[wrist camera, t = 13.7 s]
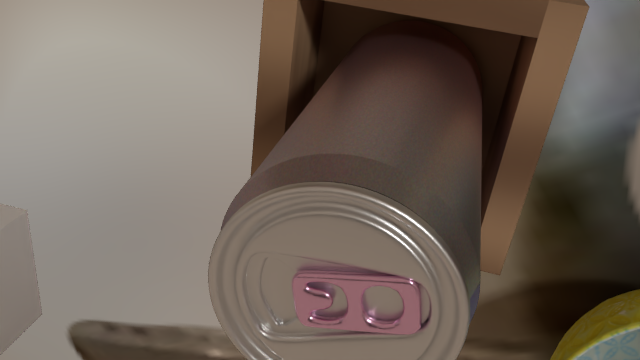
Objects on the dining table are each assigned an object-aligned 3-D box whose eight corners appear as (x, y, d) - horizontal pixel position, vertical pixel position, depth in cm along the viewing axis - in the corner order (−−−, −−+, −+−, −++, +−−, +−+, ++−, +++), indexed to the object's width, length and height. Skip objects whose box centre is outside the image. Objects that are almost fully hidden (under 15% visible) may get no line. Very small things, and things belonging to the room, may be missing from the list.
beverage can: (481, 152, 26) (478, 428, 13) (347, 152, 27) (224, 398, 14) (483, 12, 23) (481, 180, 10) (335, 21, 25) (172, 177, 12)
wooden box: (308, -63, 25) (266, -48, 20) (567, -21, 23) (589, 6, 18) (285, 160, 30) (248, 215, 25) (497, 207, 28) (499, 275, 23)
